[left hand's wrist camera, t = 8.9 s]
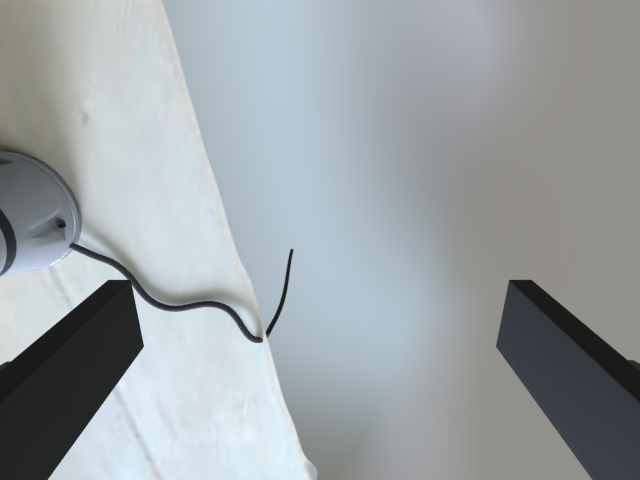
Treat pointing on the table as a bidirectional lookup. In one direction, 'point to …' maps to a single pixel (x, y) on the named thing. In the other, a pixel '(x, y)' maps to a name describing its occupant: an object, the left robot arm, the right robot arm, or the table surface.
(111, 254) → the table surface
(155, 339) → the table surface
